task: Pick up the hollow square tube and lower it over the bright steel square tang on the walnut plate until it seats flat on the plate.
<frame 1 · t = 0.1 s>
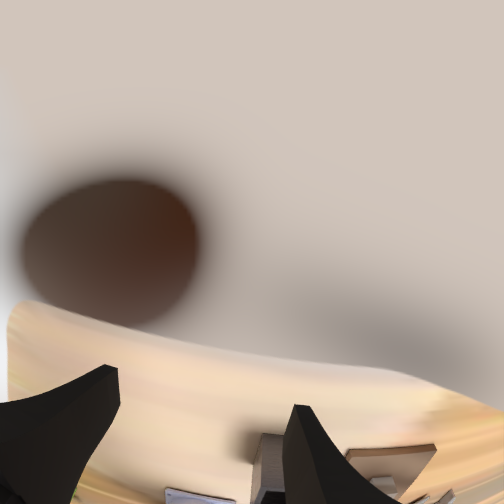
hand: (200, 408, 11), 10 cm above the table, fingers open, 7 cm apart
hollow square tube: (284, 453, 24), on the table
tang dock: (375, 477, 24), on the table
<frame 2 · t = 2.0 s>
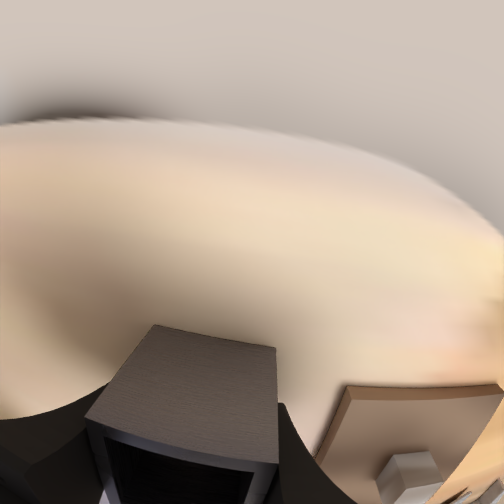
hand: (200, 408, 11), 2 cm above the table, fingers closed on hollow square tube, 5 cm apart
hollow square tube: (207, 385, 13), on the table, touching gripper
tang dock: (397, 454, 13), on the table
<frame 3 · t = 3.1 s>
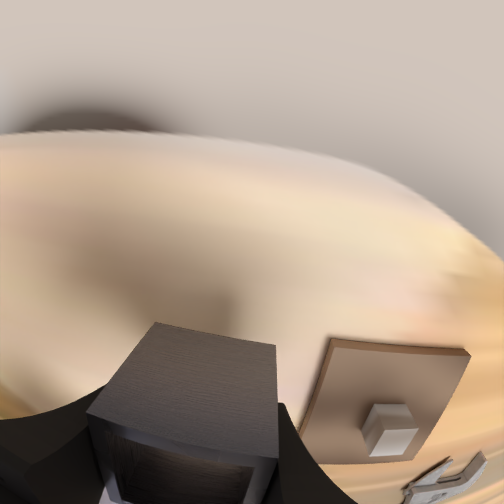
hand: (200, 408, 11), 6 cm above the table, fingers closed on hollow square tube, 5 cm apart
hollow square tube: (208, 382, 13), point 4 cm above the table, touching gripper
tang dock: (379, 408, 18), on the table
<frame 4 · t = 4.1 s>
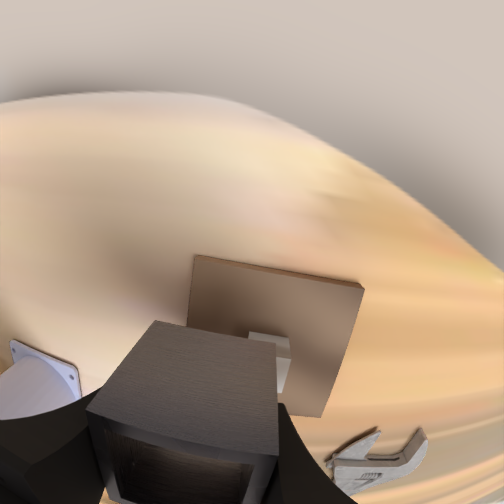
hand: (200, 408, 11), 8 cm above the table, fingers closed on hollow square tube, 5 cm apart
adjustable wrench: (315, 492, 24), on the table
hollow square tube: (207, 381, 13), point 7 cm above the table, touching gripper
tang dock: (265, 343, 19), on the table
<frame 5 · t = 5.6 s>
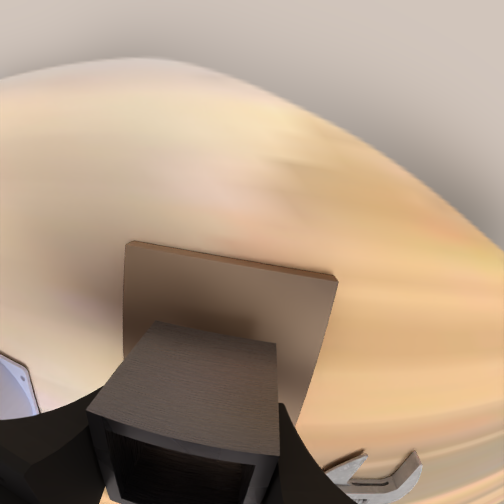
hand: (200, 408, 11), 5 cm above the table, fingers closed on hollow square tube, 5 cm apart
hollow square tube: (208, 381, 13), point 3 cm above the table, touching gripper
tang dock: (218, 349, 16), on the table
when the fingers open (3 cm above the table, at t = 6.5 s): hollow square tube stays where it is, resting on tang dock.
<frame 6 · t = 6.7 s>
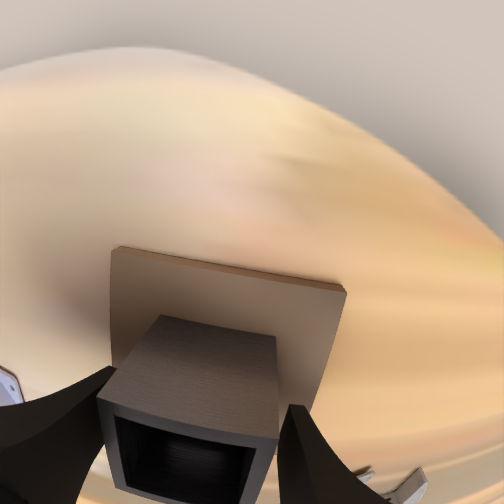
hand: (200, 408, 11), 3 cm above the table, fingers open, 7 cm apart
hollow square tube: (210, 373, 13), point 1 cm above the table, touching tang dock
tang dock: (214, 364, 14), on the table
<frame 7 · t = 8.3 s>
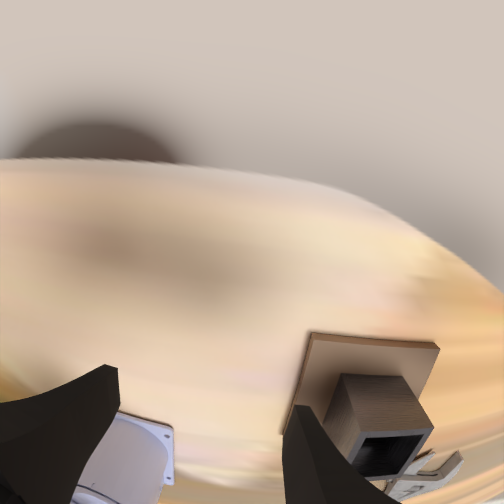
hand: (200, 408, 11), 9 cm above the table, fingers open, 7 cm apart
adjustable wrench: (362, 502, 25), on the table
hollow square tube: (362, 401, 20), point 1 cm above the table, touching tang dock
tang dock: (358, 395, 21), on the table
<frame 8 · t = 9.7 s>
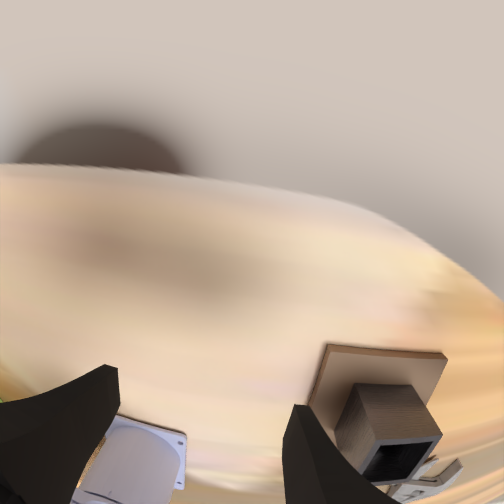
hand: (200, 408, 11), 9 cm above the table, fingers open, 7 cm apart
hollow square tube: (373, 409, 20), point 1 cm above the table, touching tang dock
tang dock: (369, 403, 21), on the table
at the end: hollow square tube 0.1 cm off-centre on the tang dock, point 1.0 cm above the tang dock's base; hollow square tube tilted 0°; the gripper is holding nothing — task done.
